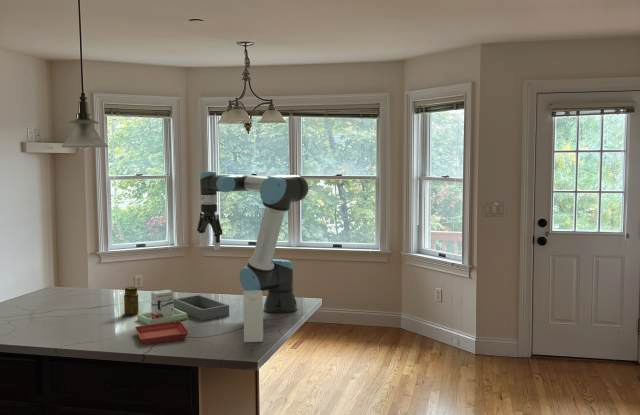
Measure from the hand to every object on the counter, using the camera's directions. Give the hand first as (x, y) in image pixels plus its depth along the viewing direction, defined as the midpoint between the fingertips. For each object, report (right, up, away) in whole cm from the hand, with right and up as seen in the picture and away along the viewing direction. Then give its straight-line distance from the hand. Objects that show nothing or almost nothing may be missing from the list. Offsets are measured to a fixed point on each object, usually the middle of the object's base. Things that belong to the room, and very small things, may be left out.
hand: (209, 248), depth 284 cm
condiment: (-32, -29, -19) cm, 47 cm away
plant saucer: (-9, -32, -52) cm, 62 cm away
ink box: (-15, -29, -28) cm, 43 cm away
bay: (-1, -28, -15) cm, 32 cm away
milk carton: (+27, -31, -57) cm, 71 cm away
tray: (-15, -29, -27) cm, 43 cm away
